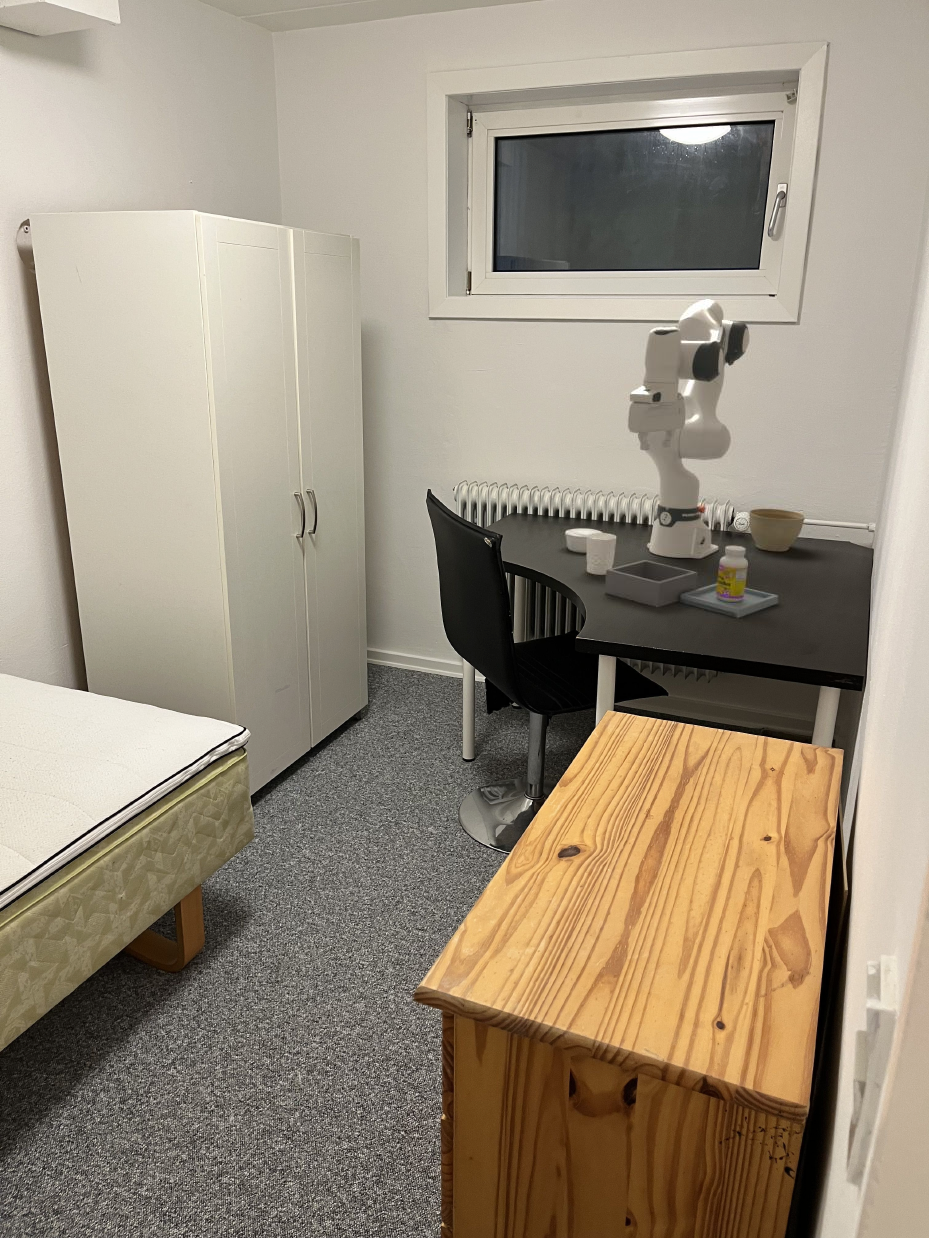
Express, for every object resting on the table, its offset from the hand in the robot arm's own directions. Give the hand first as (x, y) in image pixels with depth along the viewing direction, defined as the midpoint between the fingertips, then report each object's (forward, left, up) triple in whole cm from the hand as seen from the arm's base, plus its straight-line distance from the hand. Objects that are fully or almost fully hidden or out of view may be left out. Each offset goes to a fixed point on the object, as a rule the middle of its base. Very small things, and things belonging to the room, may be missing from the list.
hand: (655, 448), depth 236 cm
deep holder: (+14, +12, -34) cm, 39 cm away
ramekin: (-10, -30, -34) cm, 47 cm away
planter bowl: (-57, +6, -34) cm, 67 cm away
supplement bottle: (+5, +29, -33) cm, 44 cm away
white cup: (+7, -10, -34) cm, 36 cm away
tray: (+5, +29, -34) cm, 45 cm away
